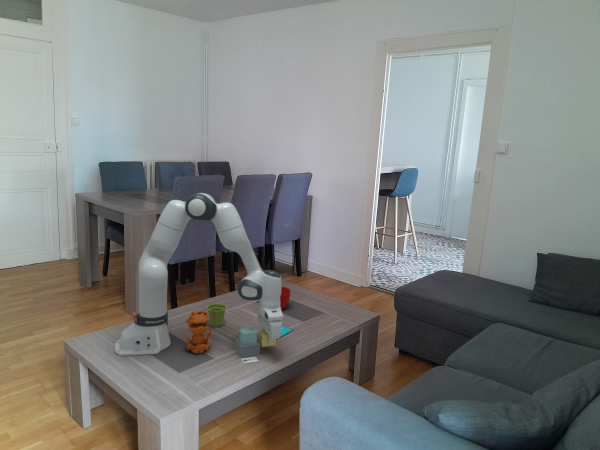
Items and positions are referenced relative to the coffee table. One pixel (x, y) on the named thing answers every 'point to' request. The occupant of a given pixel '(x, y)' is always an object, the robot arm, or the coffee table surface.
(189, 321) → the orange figurine
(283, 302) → the ceramic cup
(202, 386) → the coffee table surface
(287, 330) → the smartphone
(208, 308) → the plant pot
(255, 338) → the brick teal
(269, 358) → the coffee table surface
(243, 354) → the tower base
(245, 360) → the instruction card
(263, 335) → the brick mustard
